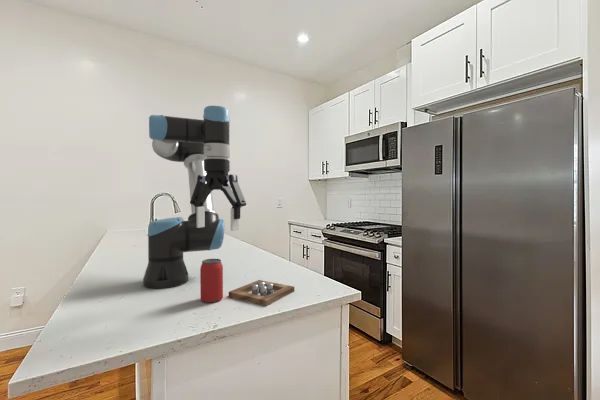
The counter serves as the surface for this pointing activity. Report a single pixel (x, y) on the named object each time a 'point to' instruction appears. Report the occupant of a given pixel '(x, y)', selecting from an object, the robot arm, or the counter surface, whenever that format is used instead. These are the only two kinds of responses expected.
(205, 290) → the beer can
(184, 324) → the counter surface
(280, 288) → the face frame
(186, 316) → the counter surface
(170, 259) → the robot arm
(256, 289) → the peg stand
